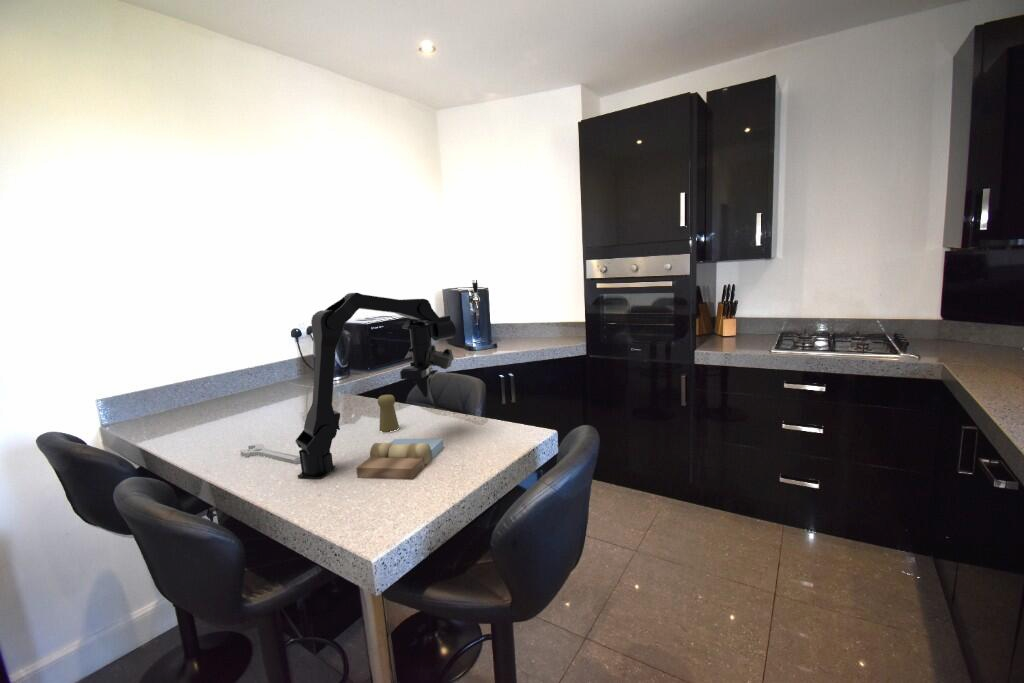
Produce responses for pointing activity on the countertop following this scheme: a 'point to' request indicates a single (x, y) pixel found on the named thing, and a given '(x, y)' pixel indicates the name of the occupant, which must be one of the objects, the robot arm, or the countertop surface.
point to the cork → (387, 413)
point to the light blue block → (401, 445)
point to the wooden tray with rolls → (394, 462)
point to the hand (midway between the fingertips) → (426, 396)
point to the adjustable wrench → (270, 454)
